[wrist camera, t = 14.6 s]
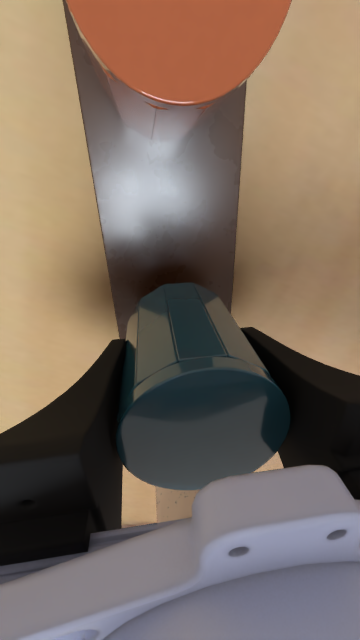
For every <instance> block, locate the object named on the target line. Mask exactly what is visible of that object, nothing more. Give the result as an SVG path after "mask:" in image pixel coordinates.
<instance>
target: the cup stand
mask: <svg viewBox="0 0 360 640" xmlns="http://www.w3.org/2000/svg"><path fill="white" fill-rule="evenodd" d="M63 5H64V11H65V17H66V23H67V29H68V35H69V41H70V47H71V52H72V58H73V64H74V70H75V76H76V82H77V88H78V94H79V100H80V106H81V112H82V118H83V124H84V130H85V136H86V141H87V147H88V153H89V159H90V165H91V171H92V177H93V183H94V189H95V195H96V201H97V207H98V213H99V219H100V225H101V230H102V236H103V242H104V248H105V254H106V260H107V266H108V272H109V278H110V284H111V290H112V296H113V302H114V308H115V314H116V319H117V325H118V331H119V337H120V339H126V333H127V325H128V321H129V319H130V317H131V315H132V313H133V311H134V309H135V307H136V305H137V303H138V301H140V299H141V298H143V297H144V296H146V295H148V294H149V293H151V292H152V291H154V290H155V289H157V288H158V287H160V286H162V285H164V284H175V283H189V282H192V283H195V284H198V285H200V286H202V287H204V288H206V289H208V290H210V291H212V292H214V293H216V294H217V295H218V296H219V298H220V299H221V301H222V302H223V304H224V305H225V307H226V308H227V310H228V311H229V313H230V314H231V303H232V289H233V274H234V259H235V244H236V229H237V215H238V200H239V185H240V170H241V156H242V141H243V126H244V111H245V97H246V82H247V80H246V81H245V82H244V83H243V84H242V85H241V86H240V87H239V88H238V89H237V90H236V91H235V92H234V93H233V94H232V95H231V96H230V97H229V98H228V99H227V100H226V101H225V102H224V103H223V104H222V105H221V106H220V107H219V108H218V109H217V110H216V111H215V112H214V113H213V114H212V116H211V117H210V118H209V119H208V120H207V121H206V122H205V123H203V124H202V125H201V126H199V127H198V128H197V129H195V130H194V131H192V132H191V133H190V134H188V135H187V136H186V137H184V138H183V139H180V140H169V141H152V140H149V139H147V138H146V137H144V136H143V135H141V134H140V133H138V132H137V131H135V130H133V129H132V128H130V127H129V126H127V125H126V124H124V122H122V120H121V118H120V117H119V115H118V113H117V112H116V110H115V108H114V106H113V105H112V103H111V101H110V100H109V98H108V96H107V94H106V93H105V91H104V89H103V87H102V85H101V82H100V80H99V78H98V75H97V73H96V71H95V69H94V66H93V64H92V62H91V59H90V57H89V55H88V52H87V50H86V48H85V46H84V43H83V41H82V39H81V36H80V34H79V32H78V29H77V27H76V25H75V23H74V20H73V18H72V16H71V13H70V11H69V9H68V5H67V3H66V0H63Z"/></svg>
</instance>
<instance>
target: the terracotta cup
mask: <svg viewBox="0 0 360 640" xmlns="http://www.w3.org/2000/svg"><path fill="white" fill-rule="evenodd" d="M291 1H292V0H66V3H67V5H68V9H69V11H70V13H71V16H72V18H73V20H74V23H75V25H76V27H77V29H78V32H79V34H80V36H81V39H82V41H83V43H84V46H85V48H86V50H87V52H88V55H89V57H90V59H91V62H92V64H93V66H94V69H95V71H96V73H97V75H98V78H99V80H100V82H101V85H102V87H103V89H104V91H105V93H106V94H107V96H108V98H109V100H110V101H111V103H112V105H113V106H114V108H115V110H116V112H117V113H118V115H119V117H120V118H121V120H122V122H124V124H126V125H127V126H129V127H130V128H132V129H133V130H135V131H137V132H138V133H140V134H141V135H143V136H144V137H146V138H147V139H149V140H152V141H169V140H180V139H183V138H184V137H186V136H187V135H188V134H190V133H191V132H192V131H194V130H195V129H197V128H198V127H199V126H201V125H202V124H203V123H205V122H206V121H207V120H208V119H209V118H210V117H211V116H212V114H213V113H214V112H215V111H216V110H217V109H218V108H219V107H220V106H221V105H222V104H223V103H224V102H225V101H226V100H227V99H228V98H229V97H230V96H231V95H232V94H233V93H234V92H235V91H236V90H237V89H238V88H239V87H240V86H241V85H242V84H243V83H244V82H245V81H246V80H247V79H248V78H249V77H250V75H251V74H252V73H253V71H254V70H255V69H256V68H257V67H258V65H259V64H260V63H261V61H262V60H263V58H264V57H265V56H266V54H267V53H268V51H269V50H270V48H271V46H272V45H273V43H274V41H275V39H276V37H277V36H278V34H279V32H280V29H281V27H282V25H283V23H284V20H285V18H286V16H287V13H288V10H289V7H290V4H291Z"/></svg>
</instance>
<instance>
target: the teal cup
mask: <svg viewBox="0 0 360 640" xmlns="http://www.w3.org/2000/svg"><path fill="white" fill-rule="evenodd" d="M116 419H117V427H116V438H115V443H116V450H117V453H118V456H119V458H120V460H121V462H122V463H123V465H124V466H125V467H126V468H127V470H128V471H129V472H131V473H132V474H133V475H134V476H135V477H137V478H139V479H140V480H142V481H144V482H146V483H148V484H151V485H154V486H157V487H161V488H165V489H172V490H201V489H202V488H203V487H205V486H206V485H208V484H209V483H210V482H212V481H215V480H218V479H222V478H225V477H228V476H235V475H242V474H248V473H252V472H254V471H255V470H257V469H258V468H260V467H261V466H262V465H264V464H265V463H266V462H267V461H268V460H269V459H271V458H272V457H273V456H274V454H275V453H276V452H277V451H278V450H279V448H280V447H281V446H282V444H283V443H284V441H285V439H286V437H287V434H288V431H289V428H290V423H291V411H290V406H289V403H288V400H287V398H286V396H285V394H284V393H283V391H282V390H281V388H280V387H279V386H278V384H277V383H276V381H275V380H274V379H273V378H272V377H271V375H270V374H269V372H268V370H267V369H266V367H265V366H264V364H263V363H262V361H261V360H260V358H259V357H258V355H257V354H256V352H255V351H254V349H253V348H252V346H251V344H250V343H249V341H248V340H247V338H246V337H245V335H244V334H243V332H242V331H241V329H240V328H239V326H238V325H237V323H236V322H235V320H234V319H233V317H232V316H231V314H230V313H229V311H228V310H227V308H226V307H225V305H224V304H223V302H222V301H221V299H220V298H219V296H218V295H217V294H216V293H214V292H212V291H210V290H208V289H206V288H204V287H202V286H200V285H198V284H195V283H192V282H189V283H175V284H164V285H162V286H160V287H158V288H157V289H155V290H154V291H152V292H151V293H149V294H148V295H146V296H144V297H143V298H141V299H140V301H138V303H137V305H136V307H135V309H134V311H133V313H132V315H131V317H130V319H129V321H128V325H127V333H126V343H125V352H124V359H123V367H122V376H121V384H120V393H119V401H118V410H117V418H116Z"/></svg>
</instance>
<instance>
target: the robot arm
mask: <svg viewBox="0 0 360 640" xmlns="http://www.w3.org/2000/svg"><path fill="white" fill-rule="evenodd" d="M240 329H241V331H242V332H243V334H244V335H245V337H246V338H247V340H248V341H249V343H250V344H251V346H252V348H253V349H254V351H255V352H256V354H257V355H258V357H259V358H260V360H261V361H262V363H263V364H264V366H265V367H266V369H267V370H268V372H269V374H270V375H271V377H272V378H273V379H274V380H275V381H276V383H277V384H278V386H279V387H280V388H281V390H282V391H283V393H284V394H285V396H286V398H287V400H288V403H289V406H290V411H291V423H290V428H289V431H288V434H287V437H286V439H285V441H284V443H283V444H282V446H281V447H280V448H279V450H278V453H279V456H280V458H281V461H282V464H283V467H284V468H283V469H276V470H269V471H262V472H255V473H248V474H242V475H235V476H228V477H225V478H222V479H218V480H215V481H212V482H210V483H209V484H208V485H206V486H205V487H203V488H202V489H201V490H199V491H198V493H197V494H196V496H195V499H194V501H193V503H192V517H190V518H185V519H179V520H172V521H166V522H160V523H153V524H147V525H141V526H134V527H128V528H122V529H121V512H122V470H123V463H122V462H121V460H120V458H119V456H118V453H117V450H116V443H115V438H116V427H117V419H116V418H117V410H118V401H119V393H120V384H121V376H122V367H123V359H124V352H125V343H126V339H116V340H112V341H111V342H110V343H109V345H108V346H107V347H106V349H105V350H104V351H103V353H102V354H101V355H100V357H99V358H98V359H97V360H96V361H95V363H94V364H93V365H92V366H91V367H90V369H89V370H88V371H87V372H86V373H85V374H84V375H83V376H82V377H81V378H80V379H79V380H78V381H77V382H76V383H75V384H74V385H73V386H72V387H70V388H69V389H68V390H67V391H66V392H65V393H63V394H62V395H61V396H59V397H58V398H57V399H55V400H54V401H53V402H51V403H50V404H49V405H47V406H46V407H45V408H43V409H42V410H40V411H39V412H37V413H36V414H34V415H32V416H31V417H29V418H28V419H26V420H24V421H23V422H21V423H19V424H17V425H16V426H14V427H12V428H10V429H8V430H6V431H5V432H3V433H1V434H0V640H360V376H359V375H355V374H352V373H348V372H345V371H342V370H339V369H336V368H333V367H331V366H328V365H325V364H323V363H320V362H318V361H316V360H313V359H311V358H308V357H306V356H304V355H302V354H300V353H298V352H296V351H294V350H292V349H290V348H288V347H286V346H285V345H283V344H281V343H279V342H278V341H276V340H274V339H272V338H271V337H269V336H267V335H266V334H264V333H262V332H260V331H259V330H257V329H255V328H253V327H247V328H240Z"/></svg>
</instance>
